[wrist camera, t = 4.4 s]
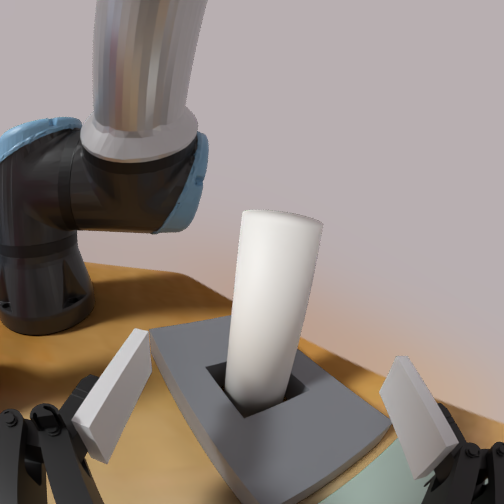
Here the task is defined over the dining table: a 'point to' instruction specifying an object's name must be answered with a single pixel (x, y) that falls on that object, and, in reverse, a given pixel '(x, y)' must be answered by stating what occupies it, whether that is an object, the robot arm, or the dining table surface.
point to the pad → (383, 482)
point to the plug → (269, 305)
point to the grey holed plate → (265, 418)
